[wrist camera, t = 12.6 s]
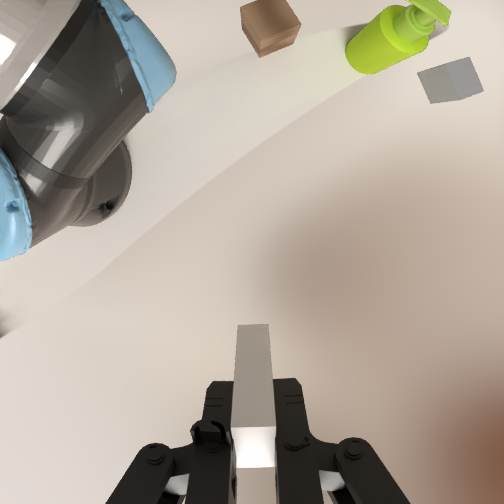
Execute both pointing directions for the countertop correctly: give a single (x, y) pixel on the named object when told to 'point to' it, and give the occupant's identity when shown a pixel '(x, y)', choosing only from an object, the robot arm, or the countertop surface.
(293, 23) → the brown wooden block
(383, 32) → the soap dispenser
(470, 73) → the grey rectangular block
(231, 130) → the countertop surface
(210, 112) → the countertop surface
